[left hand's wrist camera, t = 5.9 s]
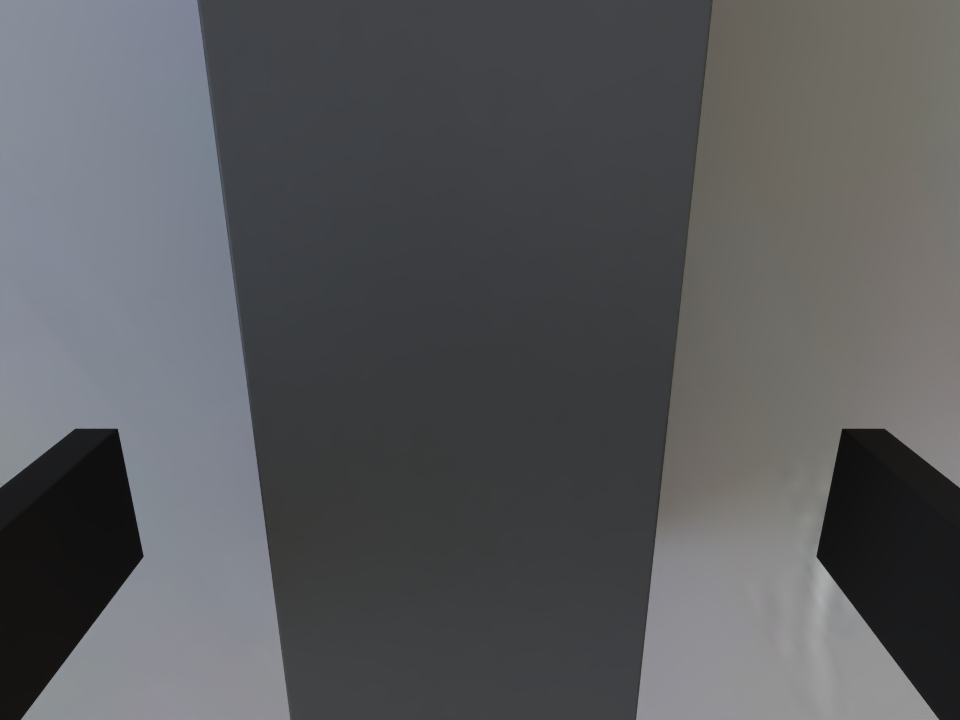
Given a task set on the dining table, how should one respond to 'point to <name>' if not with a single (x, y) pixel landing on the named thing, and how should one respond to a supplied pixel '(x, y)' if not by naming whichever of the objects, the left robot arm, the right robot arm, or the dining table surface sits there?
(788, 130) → the dining table surface
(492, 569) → the beam
